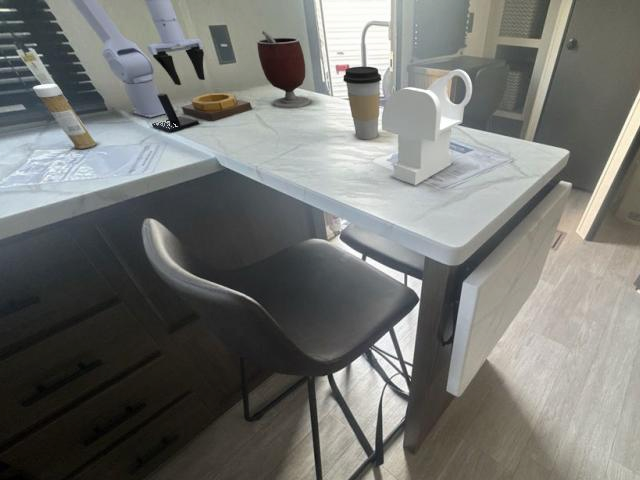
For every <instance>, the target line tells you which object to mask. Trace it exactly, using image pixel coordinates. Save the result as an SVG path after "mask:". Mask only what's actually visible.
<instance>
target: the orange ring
mask: <svg viewBox="0 0 640 480" xmlns="http://www.w3.org/2000/svg"><path fill="white" fill-rule="evenodd" d="M237 100H238V98H237V96H236V94H233V93H230V92H229V93H228V92H217V93H216V92H215V93H207V94H203V95H198V96H195V97H193V99H192V100H190V102H191V104H193V107H194V108H196V109H200V110H217V109H224V108H227V107H231V106H234V105H236V103H237ZM211 101H215V102H211Z"/></svg>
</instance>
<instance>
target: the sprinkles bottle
mask: <svg viewBox="0 0 640 480" xmlns="http://www.w3.org/2000/svg"><path fill="white" fill-rule="evenodd" d="M32 90H33V91H34V93H35V94H36V96H37V97H39V99H41V101H42V103H44V105H45V107H46V108H47V109H48V110H49V112H50V114H51V115H52V116H53V118H54V119H55V120H56V123H58V125H59V126H60V128H61V129H62V130H63V132H64V134H65V135H67V137H68V138H69V140H70V141H71V142H72V144H73V145H74V148H76V149H81V150H83V149H89V148H92V147H95V146H96V145H97V142H96V141H95V140H94V138H93V137H92V136H91V134H90V133H89V131H88V129H87V128H86V126H85V124H84V123H83V122H82V120H81V119H80V117H79V116H78V115H77V113H76V112H75V110H74V109H73V107H72V106H71V105H70V103H69V102H68V100H67V99H66V97H65V96H64V94H63V93H64V92H63V91H62V89H61V88H60V87H59V85H58V84H56V83H43V84H39V85H34V86H33V87H32Z"/></svg>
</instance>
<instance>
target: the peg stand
mask: <svg viewBox="0 0 640 480" xmlns="http://www.w3.org/2000/svg"><path fill="white" fill-rule="evenodd" d="M157 96H158V98H159V100H160V102H161V104H162V106H163V109H164V111H165V113H166V114H165V115H166V117H167V119H165V120H166V122H167V121H170V126H169V125H168V124H169V123H168V124H167V123H165V122H163V126H164V123H165V126H164V127H163V126H161V125H162V124H161V123H162V122H161V123H159V125H158V126H157V125H156V123H158V122H159V121H157V122H154V123H151V126H152V128H153V129H157V130H160V131H164V132H167V133H171V134H172V133H175V132H178V131H182V130H185V129H188V128H192V127H195V126H198V125H200V122H199V120H197V119H193V118H190V117H186V116H181V115H179V116H178V115H177V112H176V110H175V109H174V107H173V105H172V102H171V100H170V99H169V96H168V93H159V94H158V95H157ZM173 123H174V124H176V126H178V127H175V125H174V124H173ZM154 124H155V125H154ZM160 124H161V125H160ZM167 125H168V126H167ZM171 126H172V127H171ZM166 127H167V128H166ZM168 127H169V128H170V129H169V128H168ZM173 127H174V128H173Z"/></svg>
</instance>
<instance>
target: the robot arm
mask: <svg viewBox="0 0 640 480" xmlns="http://www.w3.org/2000/svg"><path fill="white" fill-rule="evenodd" d="M70 1H71V3H72V4H73V5H74V7H75V8H76V10H78V11H79V13H80V15H81V16H82V17H83V18H84V20H85V21H86V22H87V24H88V25H89V27H91V29H92V30H93V32H94V33H95V34H96V35H97V37H98V38H99V39H100V40H101V42H102V43H103V50H102V56H103V57H104V59H105V60H106V62H107V63H108V66H109V68H110V70H111V71H112V73H113V74H114V76H115V77H117V78H118V79H119V80H121V81H122V83H123V84H124V91H125V94H127V96H128V98H129V100H130V102H131V104H132V106H133V108H134V109H135V111H133V113H134V114H135V115H139V116H143V117H146V118H149V119H150V118H154V117H158V116H162V115H166V113H165V111H164V109H163V106H162V104H161V102H160V100H159V98H158V96H157V95H158V94H160V92H159V90H158V88H157V85H156V83H155V81H154V80H153V79H155V77H154V73H155V68H154V65H153V63H152V60H150V58H149V57H148V56H147V55H146V54H145V53H144V52H143V51H142V50H141V49H140V48H139V47H138V45H137V44H136V43H135V42H133V41H131V40H129V39H127V38H125V37H124V36H123V35H122V33H121V32H120V31H119V29H118V28H117V26H116V25H115V24H114V22H113V21H112V19H111V18H110V17H109V15H108V14H107V12H106V11H105V10H104V8H103V7H102V5H101V4H100V2H99V1H98V0H70ZM144 3H145V5H146V7H147V10H148V12H149V14H150V16H151V18H152V21H153V24H154V26H155V28H156V30H157V33H158V35H159V38H160V40H161V41H160V42H155V43H150V44H145V46H146V48H147V51H148V53H149V55H152V57H153V58H154V59H155V61H156V62H157V63H158V64H159V65H160V66H161V67H162V68H163V69H164V71H165V72H166V73H167V75H168V76H169V77H170V79H171V81H172V82H173V84H174V85H175V86H182V83H181V79H180V77H179V74H178V72H177V69H176V67H175V62H174V59H173V55H169V54H168V53H174V52H179V51H185V53H186V54H187V57H188V59H189V60H190V62H191V65H192V66H193V69H194V72H195V74H196V76H197V78H198V80H201V81H205V80H206V77H205V71H204V56H205V55H204V53H205V52H204V49H203V48H204V46H203V43H202V40H201V39H200V38H189V39H186V38H185V35H184V33H183V30H182V28H181V25H180V23H179V19H178V17H177V14H176V12H175V9H174V6H173V4H172V2H171V0H144Z"/></svg>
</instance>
